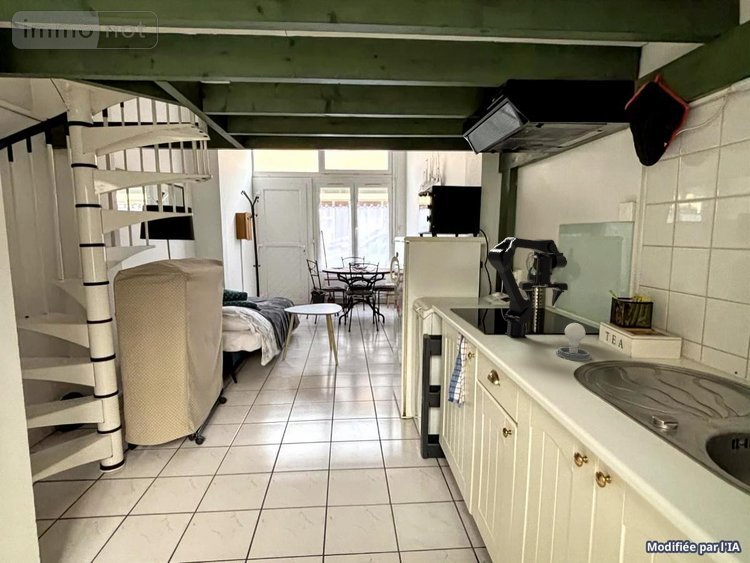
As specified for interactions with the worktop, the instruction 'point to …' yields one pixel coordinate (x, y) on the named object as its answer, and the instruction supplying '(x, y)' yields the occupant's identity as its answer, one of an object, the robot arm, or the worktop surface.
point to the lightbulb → (574, 336)
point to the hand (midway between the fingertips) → (541, 305)
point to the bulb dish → (579, 356)
